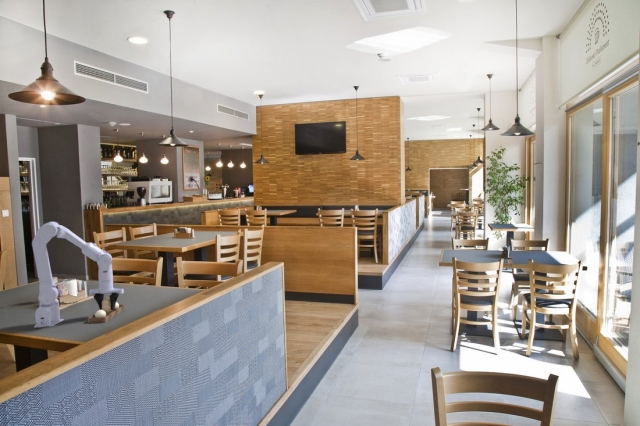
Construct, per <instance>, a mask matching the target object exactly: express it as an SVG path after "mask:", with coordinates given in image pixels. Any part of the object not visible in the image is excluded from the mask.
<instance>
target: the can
mask: <svg viewBox="0 0 640 426" xmlns="http://www.w3.org/2000/svg"><path fill="white" fill-rule="evenodd" d="M62 283H63V284H65V285H66V288H67V289H68V292H69V293H70V295H73V296H77V294H78V281H77V279H76V278H75V277H69V278H64V279H63V281H62Z"/></svg>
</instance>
